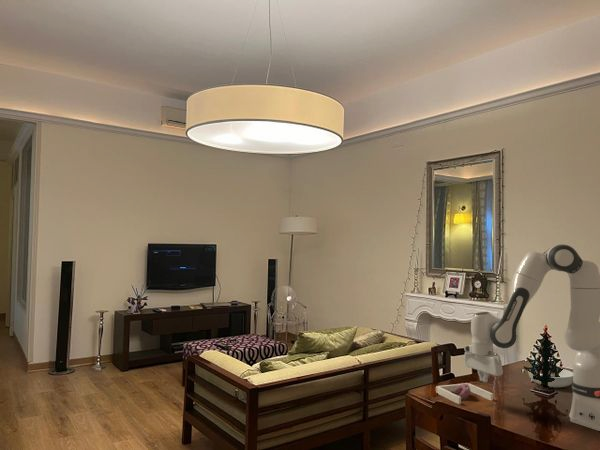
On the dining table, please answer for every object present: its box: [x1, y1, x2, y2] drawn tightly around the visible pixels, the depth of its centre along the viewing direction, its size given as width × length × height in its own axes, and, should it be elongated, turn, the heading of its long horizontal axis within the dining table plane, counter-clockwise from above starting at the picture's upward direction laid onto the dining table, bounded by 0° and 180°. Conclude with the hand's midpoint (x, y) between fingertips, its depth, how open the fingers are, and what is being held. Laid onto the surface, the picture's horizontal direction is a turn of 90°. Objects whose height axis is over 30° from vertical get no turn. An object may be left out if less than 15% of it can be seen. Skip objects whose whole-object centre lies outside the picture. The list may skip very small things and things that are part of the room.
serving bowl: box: [527, 368, 573, 389], centre depth 238 cm, size 21×21×7 cm
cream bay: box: [435, 382, 494, 405], centre depth 219 cm, size 17×18×3 cm
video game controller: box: [453, 382, 472, 401], centre depth 219 cm, size 10×5×7 cm, turn 174°
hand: (483, 381), depth 207 cm, fingers closed
